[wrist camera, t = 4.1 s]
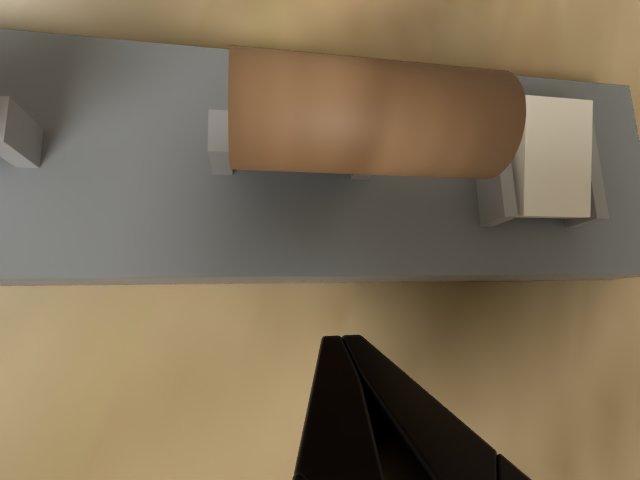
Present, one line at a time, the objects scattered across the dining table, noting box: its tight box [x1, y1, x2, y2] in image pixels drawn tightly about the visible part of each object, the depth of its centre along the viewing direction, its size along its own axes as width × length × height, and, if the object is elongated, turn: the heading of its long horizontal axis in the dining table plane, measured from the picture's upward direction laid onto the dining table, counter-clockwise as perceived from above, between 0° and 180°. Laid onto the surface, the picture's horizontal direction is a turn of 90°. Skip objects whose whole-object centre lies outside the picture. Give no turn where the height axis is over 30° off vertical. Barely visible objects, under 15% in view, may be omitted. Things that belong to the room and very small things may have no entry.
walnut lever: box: [228, 45, 526, 179], centre depth 12 cm, size 2×4×12 cm, turn 91°
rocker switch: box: [511, 95, 593, 218], centre depth 18 cm, size 5×3×1 cm, turn 1°
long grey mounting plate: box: [0, 29, 640, 286], centre depth 18 cm, size 10×36×5 cm, turn 91°
